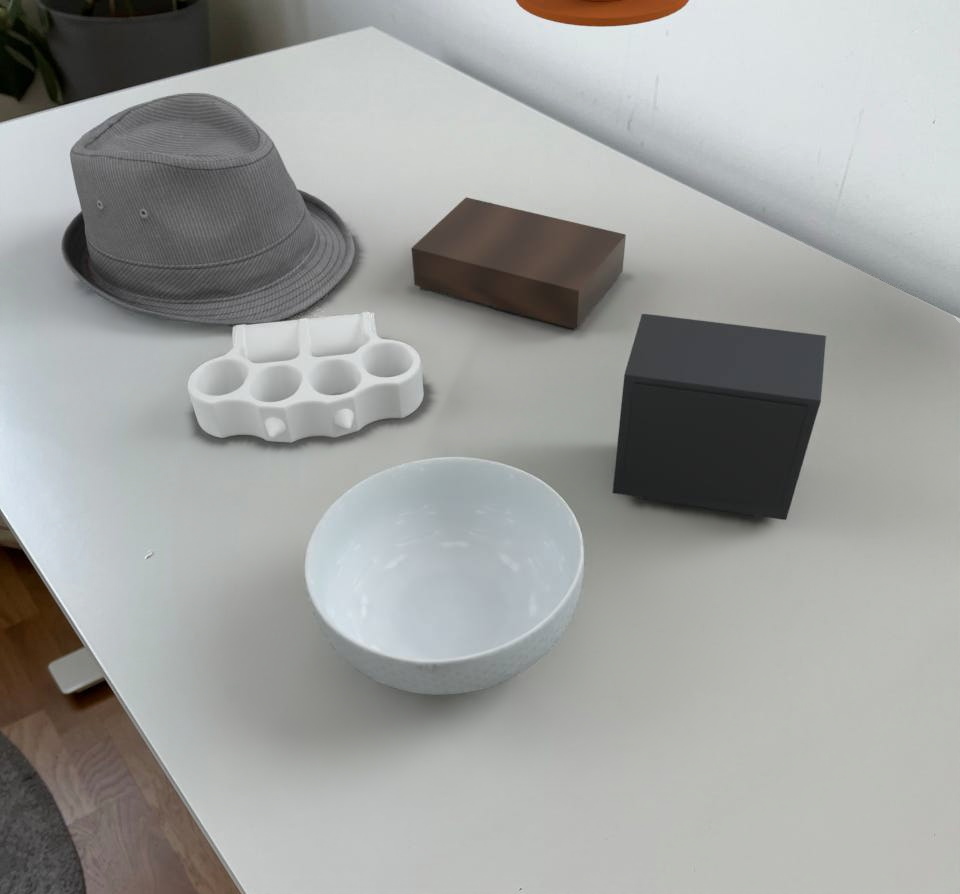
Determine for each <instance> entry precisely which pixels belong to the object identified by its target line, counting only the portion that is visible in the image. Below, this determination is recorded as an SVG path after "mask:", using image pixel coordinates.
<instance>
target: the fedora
mask: <svg viewBox="0 0 960 894" xmlns="http://www.w3.org/2000/svg"><path fill="white" fill-rule="evenodd" d="M69 158H70V165H71V166H70V167H71V170H72V176H73V181H74V186H75V191H76V193H77V198H78V201H79V206H80V212H78V213H77V214H76V215H75V216H74V217H73V219H72V220H71V221H70V223H69V224H68V226H67V227H66V229H65V231H64V233H63V235H62V239H61V246H60V247H61V254H62V258H63V260H64V262H65V264H66V265H67V267H68V268H69V269H70V271H71V272H72V273H73V275H74V276H75V277H77V279H79V280H80V281H81V282H82V283H83V284H84V285H85V286H86V287H88V288H89V289H90V290H92V292H93V293H95V294H96V295H98V296H99V297H101V298H103V299H104V300H105V301H108V302H109V303H112V304H114V305H117V306H119V307H121V308H123V309H125V310H129V311H131V312H134V313H139V314H143V315H147V316H150V317H153V318H159V319H165V320H170V321H177V322H185V323H190V324H191V323H192V324H200V325H210V326H223V327H224V326H226V327H234V326H236V325H244V324H246V325H252V324H261V323H271V322H281V321H284V320H286V319H288V318H290V317H293V316H295V315H297V314H299V313H301V312H304V311H305V310H307V309H309V308H310V307H312V306H313V305H315V304H316V303H317V302H318V301H320V300H321V299H323V298H324V297H325V296H327V294H329V293H330V292H331V291H332V290H333V289H334V288H336V286H337V285H338V284H339V283H340V282H341V281H342V280H343V279H344V277H346V275H347V274H348V273H349V271H350V269H351V268H352V266H353V262H354V258H355V255H356V253H355V252H356V251H355V250H356V247H355V242H354V238H353V235H352V234H351V231H350V229H349V227H348V225H346V223H345V221H344V220H343V218H342V217H341V216H340V215H339V213H338V212H337V211H335V209H334V208H332V207H331V206H330V205H329V204H327V203H326V202H324V201H323V200H321V199H320V198H319V197H317V196H315V195H312V194H310V193H308V192H306V191H303V190H301V189H299V188H297V185H296V183H295V181H294V179H293V178H292V176H291V174H290V173H289V171H288V169H287V167H286V165H285V163H284V161H283V159H282V156H281V154H280V152H279V151H278V148H277V147H276V144H275V142H274V141H273V139H272V138H271V137H270V135H269V134H268V133H267V132H266V131H265V130H263V129H262V128H261V126H260V125H258V124H257V123H256V122H255V121H254V120H253V119H252V118H251V117H250V116H249V115H247V114H246V113H245V112H244V110H242V109H241V108H240V107H238V106H237V105H235V104H233V102H230V101H228V100H227V99H224V98H223V97H220V96H217V95H214V94H210V93H207V92H206V93H204V92H184V93H175V94H171V95H166V96H161V97H158V98H154V99H152V100H149V101H145V102H141V103H139V104H138V103H137V104H135V105H132V106H130V107H127V108H125V109H123V110H121V111H119V112H117V113H115V114H113V115H111V116H109V117H108V118H106V119H105V120H104V121H102V122H101V123H100V124H98V125H95V126H94V127H93V128H91V129H90V130H88V131H87V132H85V133H84V134H83V135H81V137H80V138H79V139H78V140H77V141H76V142H75V143H74V144H73V145H72V147H71V149H70V152H69Z"/></svg>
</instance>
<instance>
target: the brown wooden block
mask: <svg viewBox="0 0 960 894" xmlns="http://www.w3.org/2000/svg"><path fill="white" fill-rule="evenodd" d="M626 237H627V234H626V233H621V232H617V231H614V230H613V231H612V230H609V229H605V228H600V227H595V226H592V225H588V224H584V223H583V224H582V223H578V222H575V221H569V220H567V219H562V218H557V217H553V216H550V215H549V216H548V215H544V214H540V213H535V212H531V211H526V210H522V209H519V208H514V207H509V206H505V205H501V204H496V203H493V202H488V201H484V200H479V199H476V198H471V197H467V196H466V197H465V198H463V199H462V200H461V201H460V202H459V203H458V204H457V205H456V206H455V207H453V209H452V210H450V211H449V212H448V213H447V214H446V215H444V217H443V218H442V219H441V220H440V221H439V222H437V224H435V226H434V227H432V228H431V229H430V230H429V231H428V232H426V234H425V235H424V236H422V237H421V239H420V240H418V241H417V242H416V243H415V244H414V245H413V246H412V247H411V258H412V270H413V280H414V281H413V283H414V286H416V287H419V288H420V289H422V290H426V291H430V292H434V293H437V294H441V295H445V296H448V297H451V298H455V299H459V300H463V301H467V302H471V303H474V304H478V305H482V306H486V307H489V308H492V309H496V310H500V311H504V312H507V313H512V314H515V315H518V316H523V317H526V318H529V319H534V320H537V321H541V322H544V323H547V324H548V323H549V324H552V325H555V326H559V327H563V328H566V329H571V330H578V328H579V327H580V325H581V324H582V323H583V322H584V320H586V318H587V317H588V316H589V315H590V313H591V312H592V311H593V310H594V309H595V307H596V306H597V305H598V303H599V302H600V301H601V300H602V298H603V297H604V296H605V294H607V292H608V291H609V290H610V288H611V287H612V286H613V285H614V284H615V282H616V280H617V279H619V277H620V276H621V274H622V273H623V270H624V262H625V261H624V259H625V250H626Z"/></svg>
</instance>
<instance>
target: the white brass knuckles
mask: <svg viewBox="0 0 960 894" xmlns="http://www.w3.org/2000/svg"><path fill="white" fill-rule="evenodd" d="M231 333H232V334H231V337H232V338H231V339H232V340H231V341H232V348H231V349H230V350H229V351H227V353H226V354H224V355H222V356H218V357H215V358H212V359H209V360H208V361H205V362H203V363H202V364H201V365H199V366H197V368H196V369H194V371H193V372H192V373H191V374H190V376H189V378H188V381H187V392H188V395H189V398H190V401H191V404H192V408H193V410H194V411H193V412H194V414H195V417H196V420H197V423H198V425H199V427H200V428H201V429H202V431H204V433H206V434H209V435H210V436H213V437H215V438H220V439H224V438H228V437H232V436H253V437H258V438H261V439H263V440H265V441H266V442H277V443H291V444H292V443H293V442H296V441H299V440H301V439H305V438H306V439H307V438H310V437H311V438H312V437H328V438H334V439H337V438H339V437H342V436H346V435H351V434H353V433H356V432H359V431H360V430H361V429H363V428H364V427H366V426H367V425H369V424H371V423H374V422H378V421H380V420H386V419H404V418H406V417H408V416H409V415H411V414H413V413H414V412H415V411H416V410H417V409H418V408H419V407H420V406H421V404H422V403H423V399H424V393H425V391H424V381H423V380H424V379H423V369H422V360H421V357H420V355H419V353H418V351H417V350H416V349H415V348H414V347H412V346H411V345H409V344H407V343H405V342H402V341H400V340H393V339H387V338H386V339H385V338H382V337H380V336H379V335H377V327H376V319H375V312H371V311H362V312H361V313H354V314H353V313H352V314H343V315H333V316H332V315H331V316H322V317H313V318H308V317H303V318H299V319H291V320H280V321H277V322H271V323H261V324H252V325H246V324H244V325H236V326H232V332H231Z"/></svg>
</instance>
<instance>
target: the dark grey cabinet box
mask: <svg viewBox="0 0 960 894" xmlns="http://www.w3.org/2000/svg"><path fill="white" fill-rule="evenodd" d="M826 343H827V335H823V334H814V333H808V332H807V333H806V332H800V331H799V332H798V331H789V330H782V329H774V328H766V327H757V326H749V325H740V324H734V323H733V324H732V323H724V322H716V321H707V320H702V319H701V320H700V319H693V318H684V317H683V318H682V317H676V316H668V315H667V316H666V315H659V314H658V315H657V314H650V313H649V314H648V313H641V316H640V319H639V322H638V326H637V330H636V332H635V337H634V339H633V343H632V346H631V350H630V354H629V357H628V361H627V364H626V369H625V371H624V376H623V384H622V394H621V403H620V415H619V425H618V433H617V444H616V453H615V466H614V475H613V483H612V494H615V495H616V494H617V495H621V496H627V497H636V498H641V499H642V500H647V501H653V502H661V503H668V504H674V505H679V506H680V505H681V506H687V507H694V508H700V509H706V510H711V511H719V512H726V513H730V514H739V515H744V516H750V517H755V516H756V517H762V518H763V517H764V518H768V519H776V520H783V521H787V519H788V515H789V512H790V508H791V505H792V502H793V498H794V495H795V491H796V488H797V484H798V481H799V479H800V474H801V470H802V467H803V464H804V460H805V457H806V454H807V451H808V450H807V449H808V446H809V443H810V440H811V437H812V432H813V429H814V426H815V424H816V423H815V422H816V419H817V415H818V412H819V409H820V405H821V402H822V391H823V380H824V366H825V355H826Z"/></svg>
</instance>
